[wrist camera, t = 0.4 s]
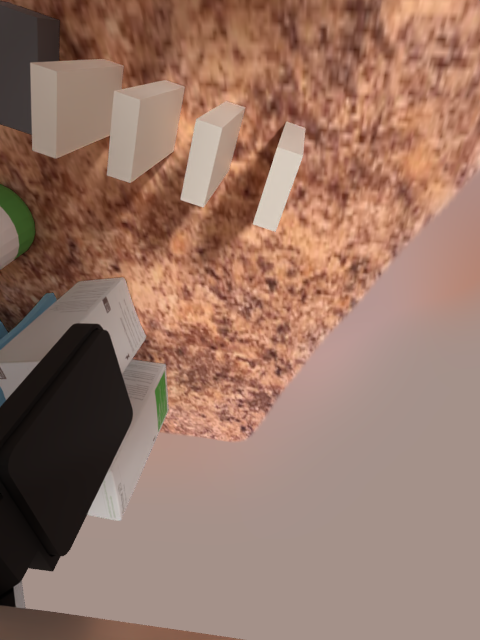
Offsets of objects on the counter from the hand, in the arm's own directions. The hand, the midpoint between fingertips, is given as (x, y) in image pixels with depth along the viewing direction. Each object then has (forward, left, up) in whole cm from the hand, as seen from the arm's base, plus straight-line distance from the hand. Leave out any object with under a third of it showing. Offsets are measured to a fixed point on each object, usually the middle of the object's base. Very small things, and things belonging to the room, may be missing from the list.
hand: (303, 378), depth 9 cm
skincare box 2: (+33, -9, -29) cm, 44 cm away
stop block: (+2, -23, -28) cm, 36 cm away
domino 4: (+2, -1, -28) cm, 28 cm away
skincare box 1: (+23, -14, -29) cm, 39 cm away
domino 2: (+2, -11, -28) cm, 31 cm away
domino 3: (+2, -6, -28) cm, 29 cm away
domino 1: (+2, -16, -28) cm, 33 cm away
